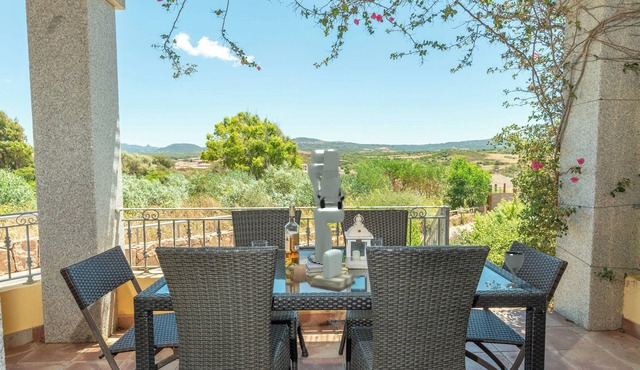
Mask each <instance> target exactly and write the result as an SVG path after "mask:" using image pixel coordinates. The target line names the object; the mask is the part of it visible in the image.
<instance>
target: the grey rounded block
mask: <svg viewBox="0 0 640 370" xmlns="http://www.w3.org/2000/svg"><path fill="white" fill-rule="evenodd" d="M322 273H323V277H324V278H327V279H328V278H332V277H335V276H338V275H341V274H342V273H343V252H342V250H340V249H336V248H332V249H331V250H328V251H327V252H325V253H324V254H323V264H322Z"/></svg>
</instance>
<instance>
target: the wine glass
mask: <svg viewBox="0 0 640 370" xmlns="http://www.w3.org/2000/svg"><path fill="white" fill-rule="evenodd" d="M524 259H525V253H524V252H522V251H515V250H507V251H504V262H505V265H506V267H507V268H508V269H509V270H510V272H511V275H512V282H508V284H507V283H506V284H507V285H508V286H511V287H510V288H512V287H518V284H519V283H516V282H515V278H516V273H517V272H518V271H519V270H520V269H521V268H522V266H523V264H524ZM508 286H507V287H508Z"/></svg>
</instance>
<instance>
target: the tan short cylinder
mask: <svg viewBox="0 0 640 370" xmlns="http://www.w3.org/2000/svg"><path fill="white" fill-rule="evenodd" d="M293 282H294V283H305V282H307V265H305V264H295V265H293Z"/></svg>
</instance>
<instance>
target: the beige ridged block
mask: <svg viewBox="0 0 640 370" xmlns="http://www.w3.org/2000/svg"><path fill="white" fill-rule="evenodd" d="M354 279H355V277H354V274H349V273H344V272H342V274H341V275H338V276H335V277H332V278H328V279H327V278H324V277H323V272H321V273H319V274H318V275H315V276H314V277H312V278H311V283H310V287H312V288H314V289H315V288H317V289H321V290H328V291H333V292H339V293H340V292H342V291H343V290H346V289H347V288H349V287H352V286H353V285H355V284H356V280H354Z"/></svg>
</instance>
